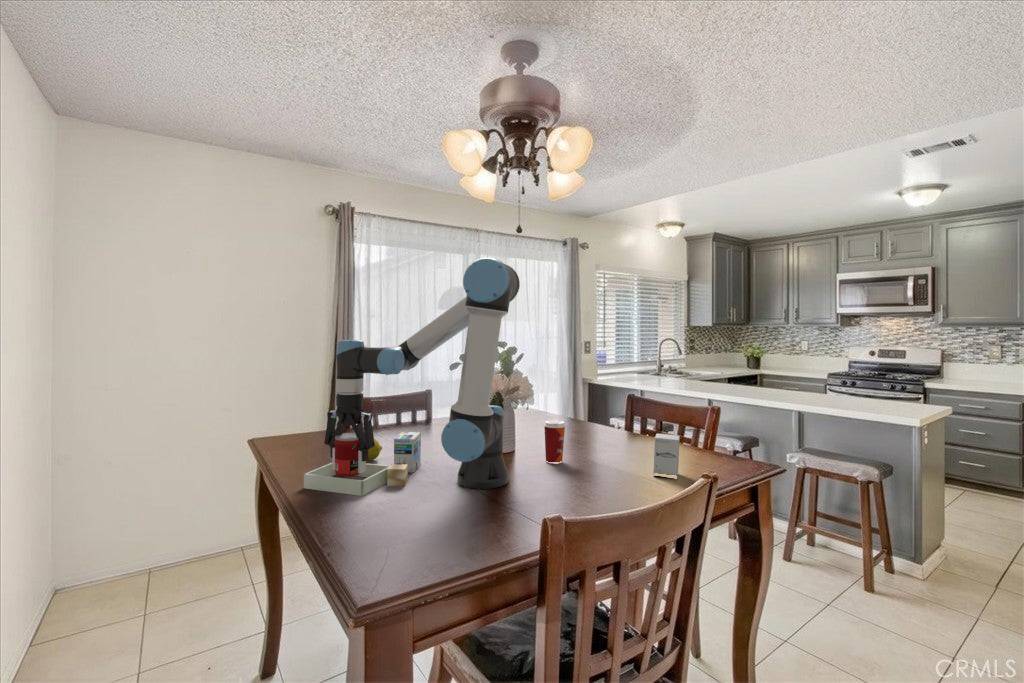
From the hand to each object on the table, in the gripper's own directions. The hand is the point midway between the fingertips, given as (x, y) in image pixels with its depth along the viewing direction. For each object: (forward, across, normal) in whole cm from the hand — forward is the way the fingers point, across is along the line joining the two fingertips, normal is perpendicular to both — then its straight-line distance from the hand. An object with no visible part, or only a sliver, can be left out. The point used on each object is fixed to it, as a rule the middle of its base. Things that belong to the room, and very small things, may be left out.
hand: (349, 470), depth 141 cm
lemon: (+4, +9, -22) cm, 24 cm away
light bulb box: (+4, -8, -20) cm, 22 cm away
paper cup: (+4, -52, -43) cm, 68 cm away
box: (+4, 0, 0) cm, 4 cm away
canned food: (+1, 0, 0) cm, 1 cm away
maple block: (+4, -13, -5) cm, 15 cm away
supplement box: (+4, -89, -40) cm, 98 cm away
